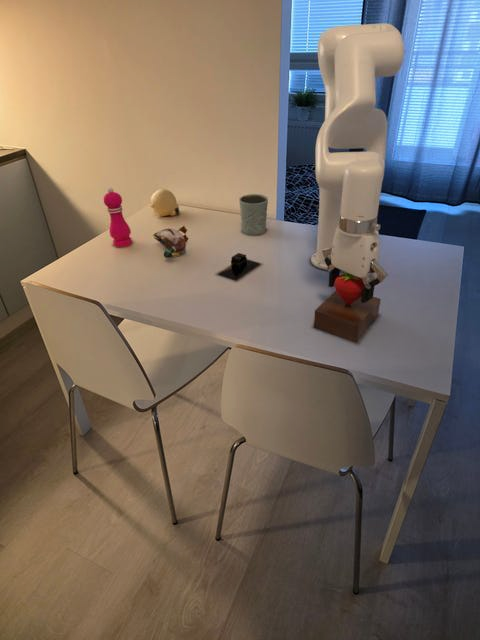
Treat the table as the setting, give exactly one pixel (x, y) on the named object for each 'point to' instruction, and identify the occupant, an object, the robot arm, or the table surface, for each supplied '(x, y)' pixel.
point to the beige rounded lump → (164, 203)
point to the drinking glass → (253, 213)
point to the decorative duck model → (172, 241)
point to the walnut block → (346, 316)
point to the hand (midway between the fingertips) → (349, 292)
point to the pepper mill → (117, 220)
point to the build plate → (238, 267)
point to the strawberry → (349, 287)
